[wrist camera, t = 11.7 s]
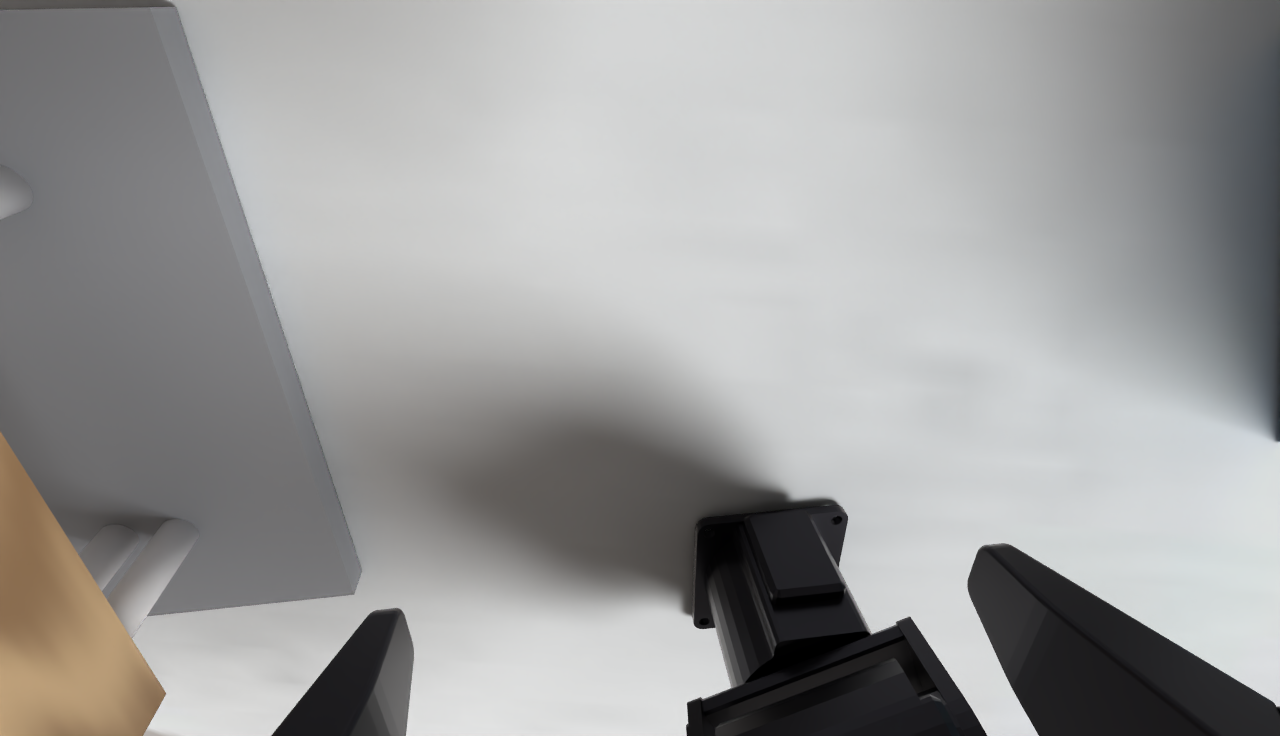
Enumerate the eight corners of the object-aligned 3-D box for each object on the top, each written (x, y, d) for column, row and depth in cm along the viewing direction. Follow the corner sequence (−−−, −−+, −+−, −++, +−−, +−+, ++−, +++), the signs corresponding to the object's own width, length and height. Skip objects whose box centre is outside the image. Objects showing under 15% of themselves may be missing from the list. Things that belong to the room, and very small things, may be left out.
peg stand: (361, 570, 26) (313, 718, 21) (42, 603, 25) (-97, 768, 19) (175, 6, 16) (-13, 9, 11) (-375, 16, 15) (-896, 24, 9)
